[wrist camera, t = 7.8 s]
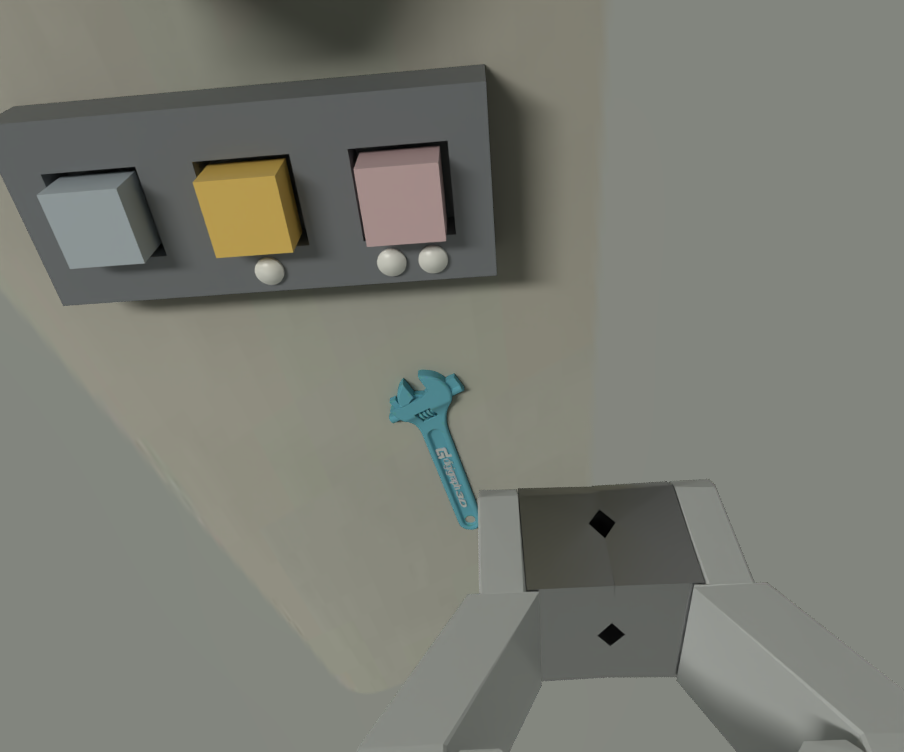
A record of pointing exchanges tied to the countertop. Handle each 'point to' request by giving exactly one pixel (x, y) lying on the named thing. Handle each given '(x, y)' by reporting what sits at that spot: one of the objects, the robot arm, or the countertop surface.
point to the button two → (401, 196)
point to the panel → (250, 139)
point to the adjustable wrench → (438, 435)
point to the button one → (249, 208)
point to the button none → (100, 219)
